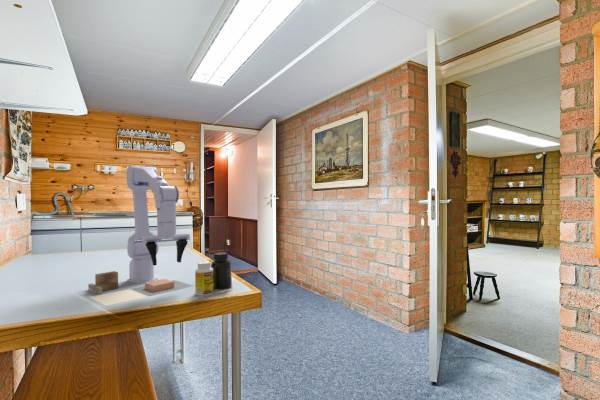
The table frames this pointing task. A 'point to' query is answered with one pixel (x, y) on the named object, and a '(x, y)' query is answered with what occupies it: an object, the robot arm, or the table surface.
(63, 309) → the table surface
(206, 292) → the supplement bottle
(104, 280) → the pusher
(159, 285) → the terracotta tile
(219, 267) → the supplement bottle
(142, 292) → the board
